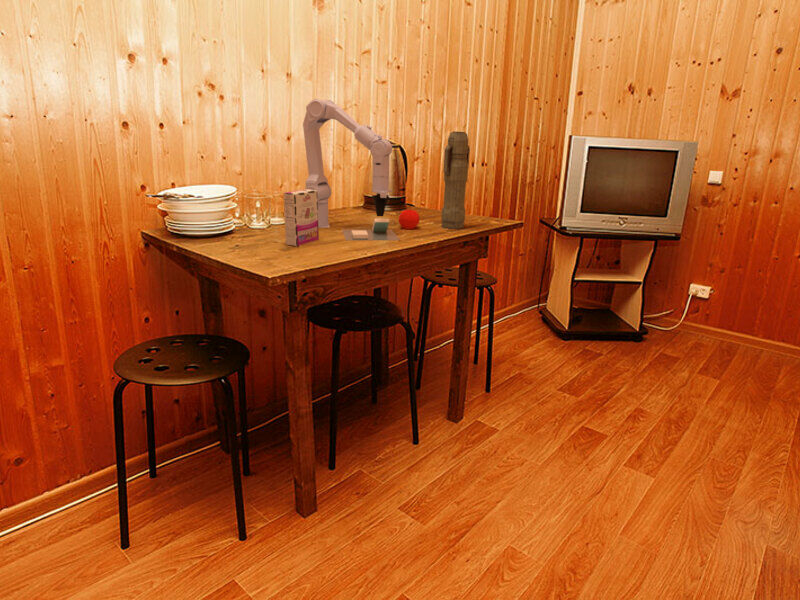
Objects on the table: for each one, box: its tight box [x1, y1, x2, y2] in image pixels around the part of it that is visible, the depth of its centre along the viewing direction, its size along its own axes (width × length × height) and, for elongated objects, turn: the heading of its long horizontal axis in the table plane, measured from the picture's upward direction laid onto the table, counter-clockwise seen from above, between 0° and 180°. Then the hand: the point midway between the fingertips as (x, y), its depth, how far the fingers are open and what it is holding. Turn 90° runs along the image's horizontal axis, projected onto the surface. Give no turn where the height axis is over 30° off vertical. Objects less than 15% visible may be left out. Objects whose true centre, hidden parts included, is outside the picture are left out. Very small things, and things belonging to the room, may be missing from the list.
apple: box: [398, 209, 421, 230], centre depth 198 cm, size 8×8×7 cm
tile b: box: [371, 218, 390, 232], centre depth 187 cm, size 5×2×7 cm
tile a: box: [350, 229, 368, 239], centre depth 180 cm, size 5×2×7 cm
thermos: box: [440, 131, 471, 230], centre depth 202 cm, size 9×12×35 cm
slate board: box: [341, 229, 401, 241], centre depth 185 cm, size 18×18×1 cm
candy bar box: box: [283, 188, 320, 248], centre depth 170 cm, size 11×5×16 cm, turn 151°
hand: (380, 216), depth 189 cm, fingers closed
